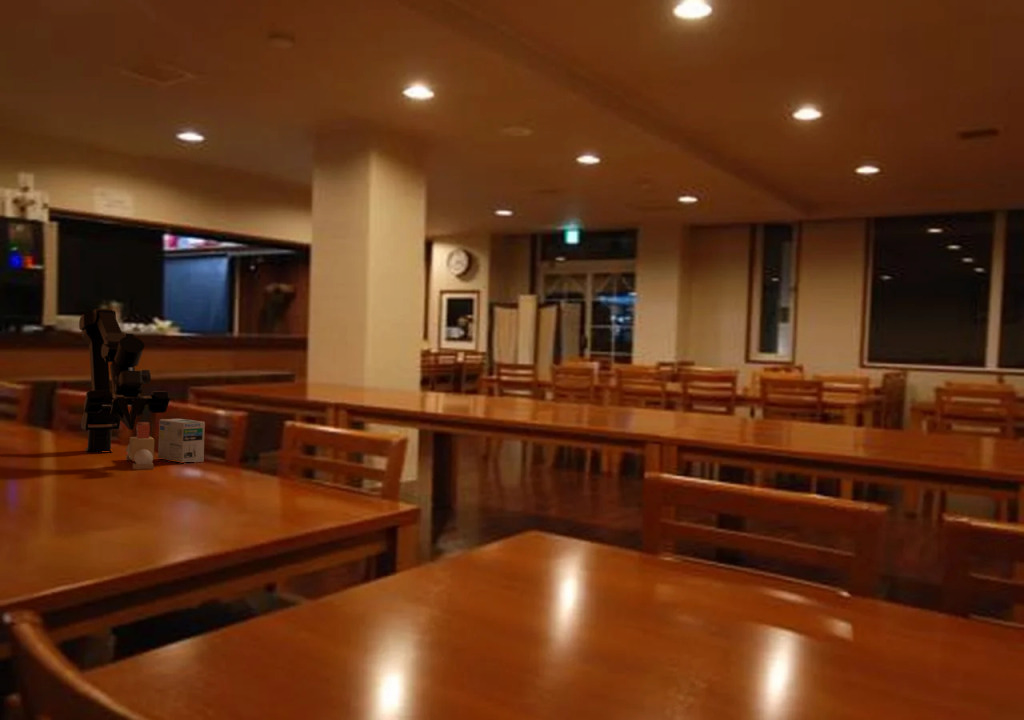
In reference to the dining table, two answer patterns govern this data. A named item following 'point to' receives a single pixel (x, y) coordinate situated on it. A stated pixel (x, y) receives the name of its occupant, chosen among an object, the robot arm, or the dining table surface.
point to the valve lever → (143, 429)
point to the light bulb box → (181, 440)
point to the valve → (141, 452)
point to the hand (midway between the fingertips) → (131, 428)
